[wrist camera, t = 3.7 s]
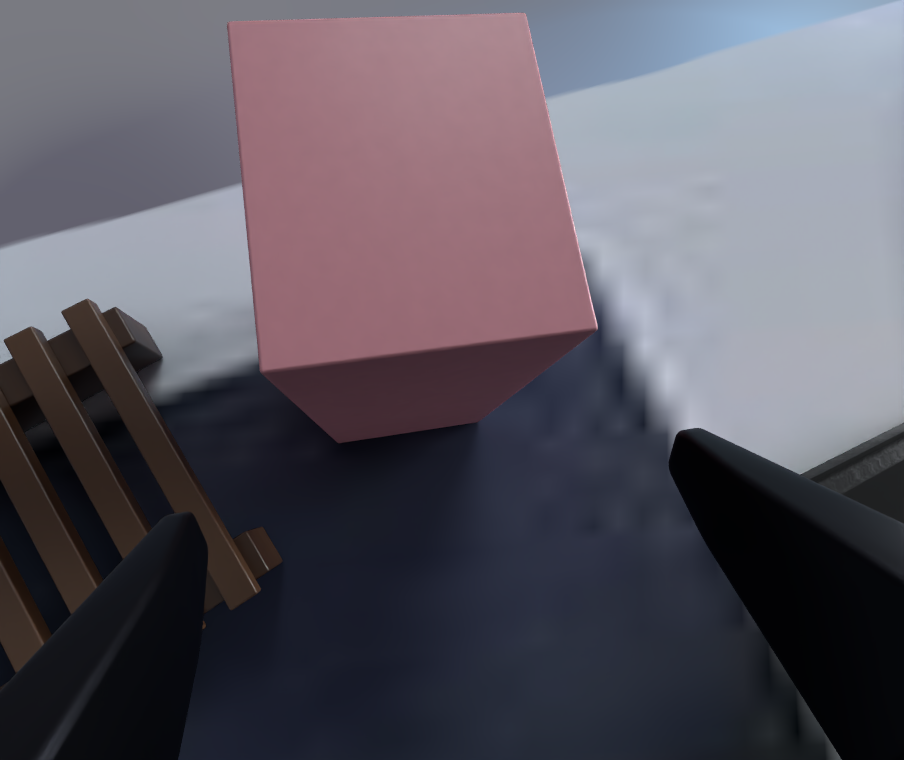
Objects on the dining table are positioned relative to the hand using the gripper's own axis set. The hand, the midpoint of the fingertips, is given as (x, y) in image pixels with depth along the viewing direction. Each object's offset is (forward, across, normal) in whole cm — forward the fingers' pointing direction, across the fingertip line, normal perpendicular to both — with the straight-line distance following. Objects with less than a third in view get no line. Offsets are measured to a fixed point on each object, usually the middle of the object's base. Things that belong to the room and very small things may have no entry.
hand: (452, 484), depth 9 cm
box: (+13, 0, +4) cm, 13 cm away
